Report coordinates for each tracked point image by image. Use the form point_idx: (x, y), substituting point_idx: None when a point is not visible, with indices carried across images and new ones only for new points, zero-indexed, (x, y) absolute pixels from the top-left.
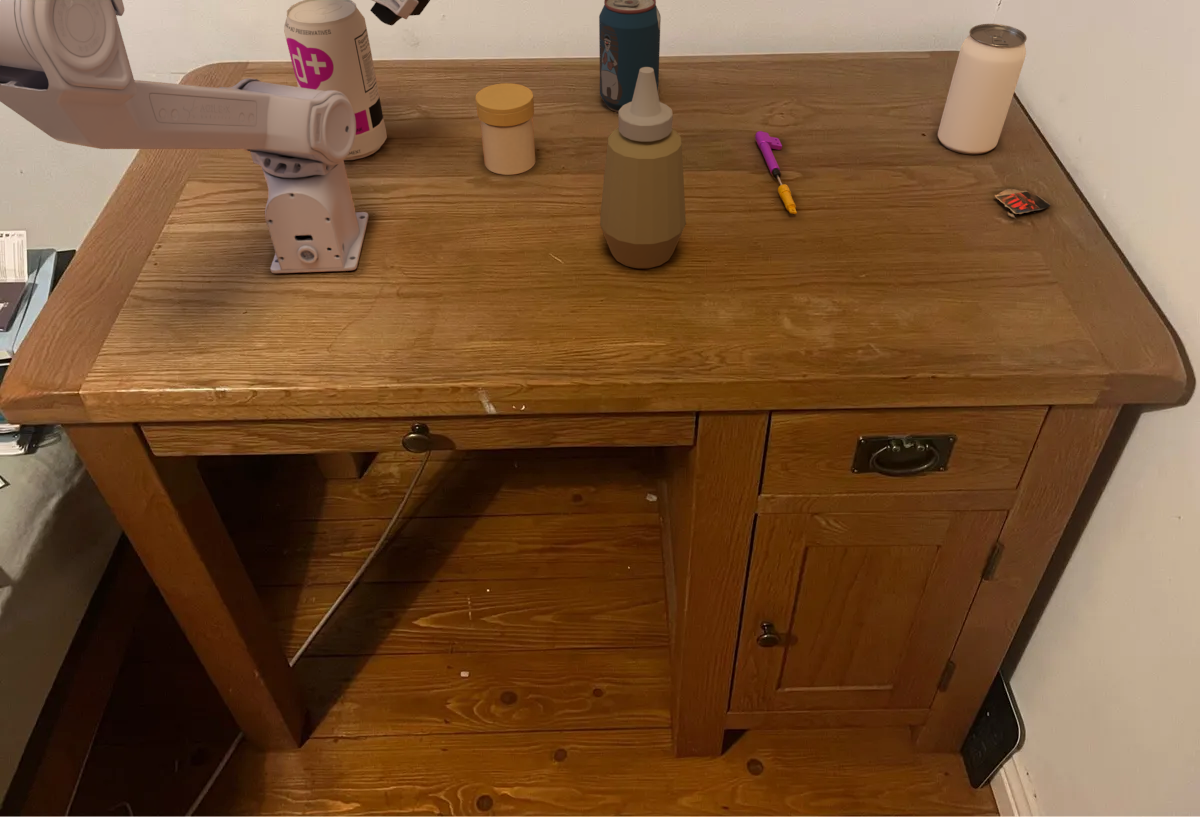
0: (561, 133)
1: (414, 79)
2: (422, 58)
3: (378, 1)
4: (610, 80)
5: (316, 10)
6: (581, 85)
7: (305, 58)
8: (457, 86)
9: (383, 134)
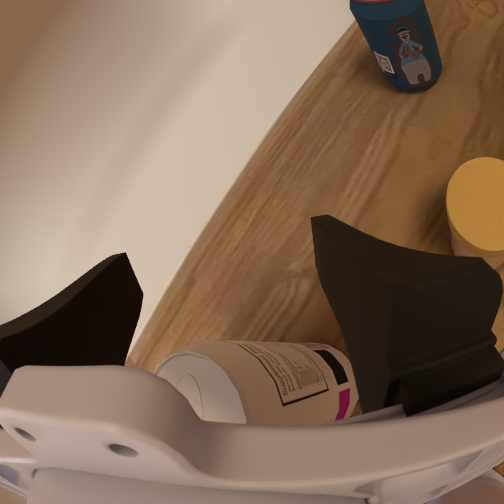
0: (447, 153)
1: (234, 245)
2: (206, 219)
3: (455, 487)
4: (420, 66)
5: None
6: (354, 97)
7: None
8: (276, 210)
9: (345, 360)
